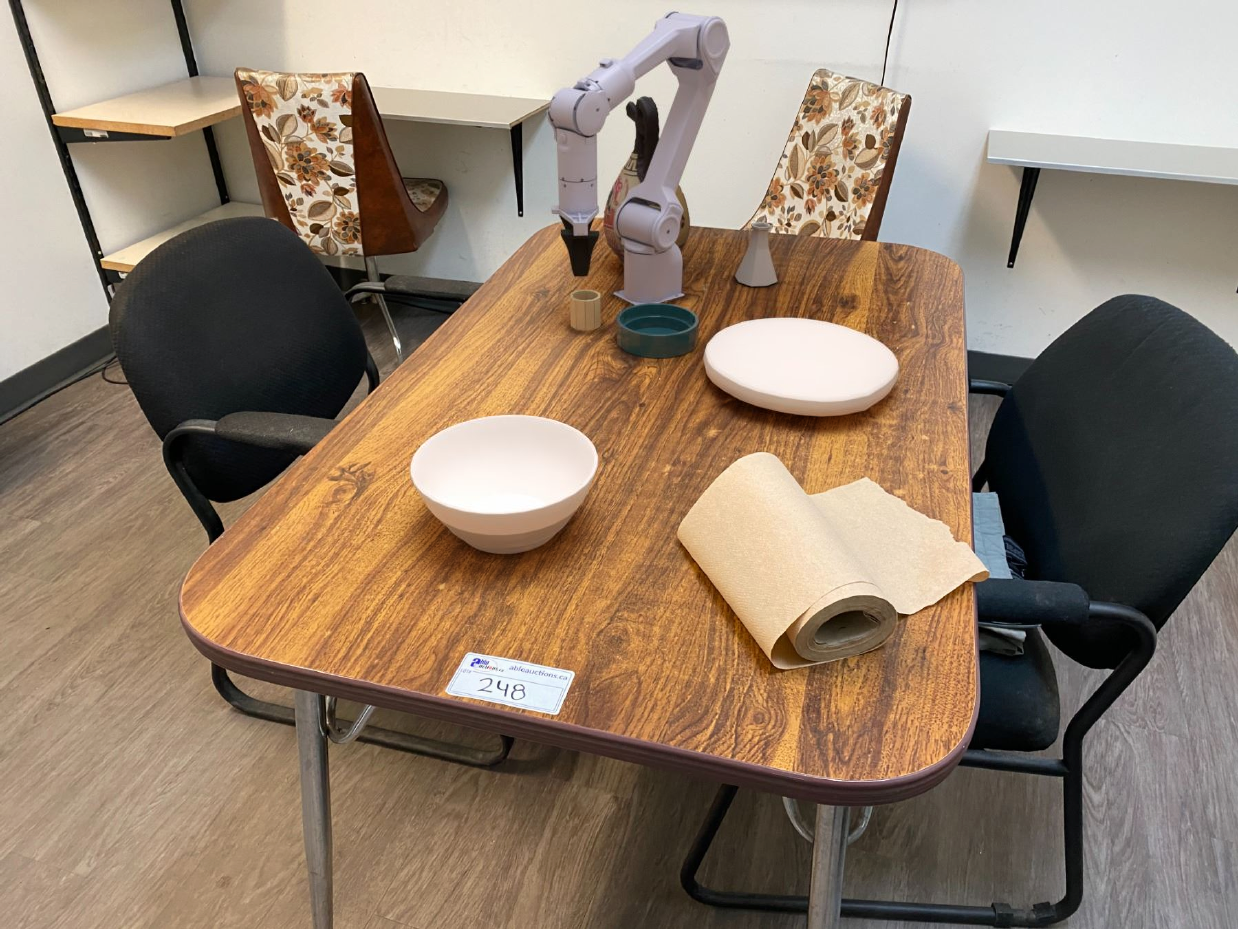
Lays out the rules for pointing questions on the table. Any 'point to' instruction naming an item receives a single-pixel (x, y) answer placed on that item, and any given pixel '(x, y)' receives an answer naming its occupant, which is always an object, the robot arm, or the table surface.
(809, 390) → the plate
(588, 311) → the cup
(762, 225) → the flask
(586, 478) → the bowl
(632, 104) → the ceramic jug
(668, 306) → the teal bowl
